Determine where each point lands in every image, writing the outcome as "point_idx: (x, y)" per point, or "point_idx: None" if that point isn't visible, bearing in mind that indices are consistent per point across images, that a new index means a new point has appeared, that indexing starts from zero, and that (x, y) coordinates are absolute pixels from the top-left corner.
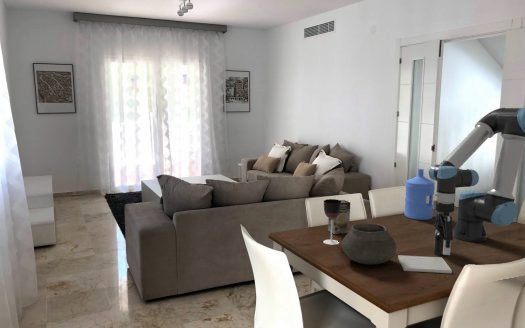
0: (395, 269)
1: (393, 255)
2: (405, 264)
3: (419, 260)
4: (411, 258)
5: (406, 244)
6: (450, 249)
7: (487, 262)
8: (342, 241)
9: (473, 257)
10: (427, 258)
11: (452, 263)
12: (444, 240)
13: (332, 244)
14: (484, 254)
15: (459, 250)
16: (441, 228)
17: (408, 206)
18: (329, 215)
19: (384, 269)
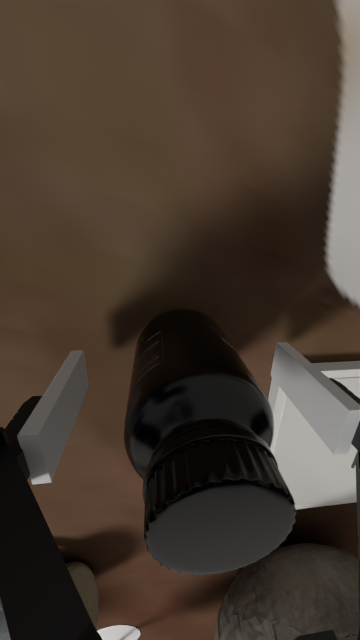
0: (347, 506)
1: (353, 561)
2: (345, 497)
3: (313, 459)
4: (290, 481)
5: (60, 477)
6: (207, 323)
7: (321, 82)
8: None
9: (222, 159)
10: (293, 432)
11: (316, 326)
12: (343, 446)
13: (138, 632)
14: (138, 3)
15: (83, 217)
16: (264, 552)
17: None
18: None
19: (343, 526)
